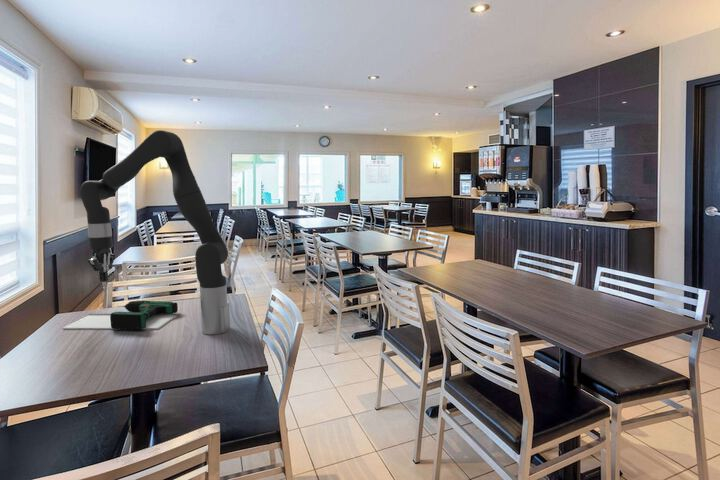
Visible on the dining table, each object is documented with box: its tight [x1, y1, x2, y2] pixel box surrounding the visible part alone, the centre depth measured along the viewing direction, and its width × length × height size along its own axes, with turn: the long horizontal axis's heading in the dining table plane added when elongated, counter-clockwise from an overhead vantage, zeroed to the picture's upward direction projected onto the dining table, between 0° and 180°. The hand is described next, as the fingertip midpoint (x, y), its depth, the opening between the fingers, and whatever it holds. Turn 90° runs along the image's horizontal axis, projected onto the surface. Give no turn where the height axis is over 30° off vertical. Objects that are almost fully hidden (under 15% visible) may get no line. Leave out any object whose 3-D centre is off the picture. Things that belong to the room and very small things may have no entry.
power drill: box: [110, 300, 179, 331], centre depth 165 cm, size 6×29×25 cm
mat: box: [62, 313, 178, 330], centre depth 163 cm, size 36×16×1 cm, turn 89°
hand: (104, 281), depth 154 cm, fingers closed
